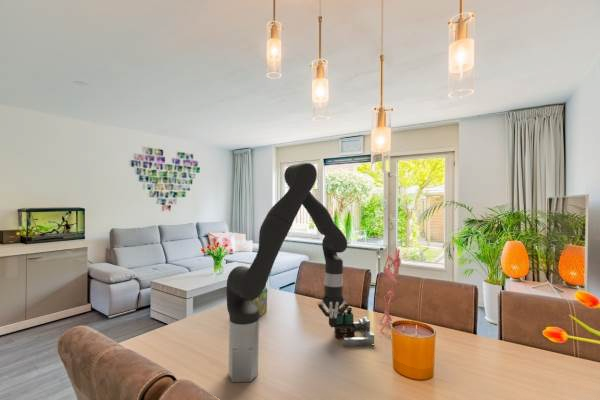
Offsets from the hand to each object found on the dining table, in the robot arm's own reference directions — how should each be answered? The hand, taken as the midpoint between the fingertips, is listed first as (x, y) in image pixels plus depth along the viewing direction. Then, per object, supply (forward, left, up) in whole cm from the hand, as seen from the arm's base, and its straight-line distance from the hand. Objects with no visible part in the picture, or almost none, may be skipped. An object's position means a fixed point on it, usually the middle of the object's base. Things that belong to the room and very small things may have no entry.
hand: (332, 326), depth 120 cm
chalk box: (+26, +33, -4) cm, 42 cm away
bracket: (0, -8, -4) cm, 9 cm away
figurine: (+6, -29, -4) cm, 30 cm away
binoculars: (0, -5, -4) cm, 7 cm away
